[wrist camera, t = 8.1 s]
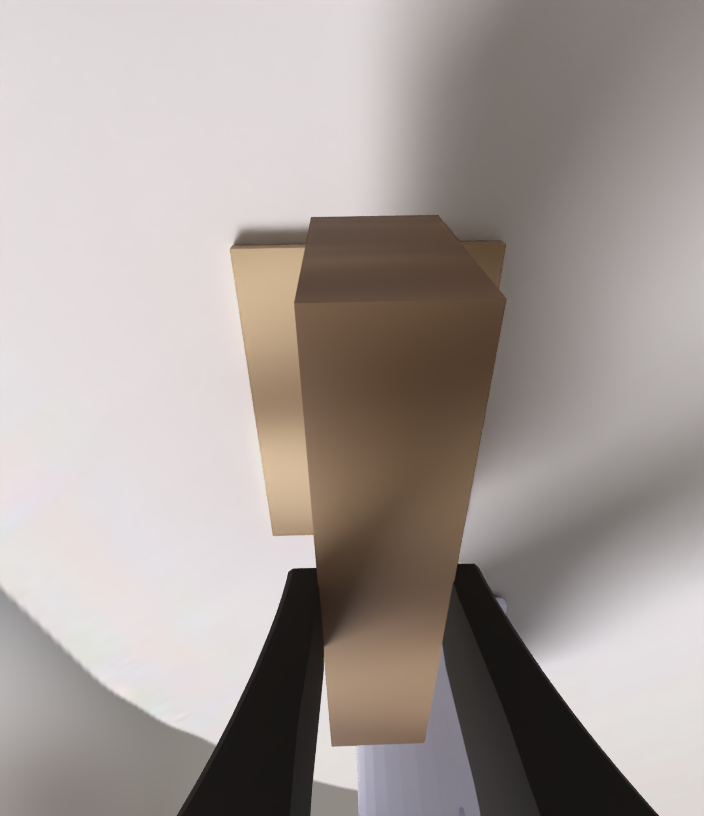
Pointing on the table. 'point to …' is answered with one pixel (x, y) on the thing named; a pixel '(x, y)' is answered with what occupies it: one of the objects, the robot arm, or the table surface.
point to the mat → (290, 368)
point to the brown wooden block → (390, 452)
